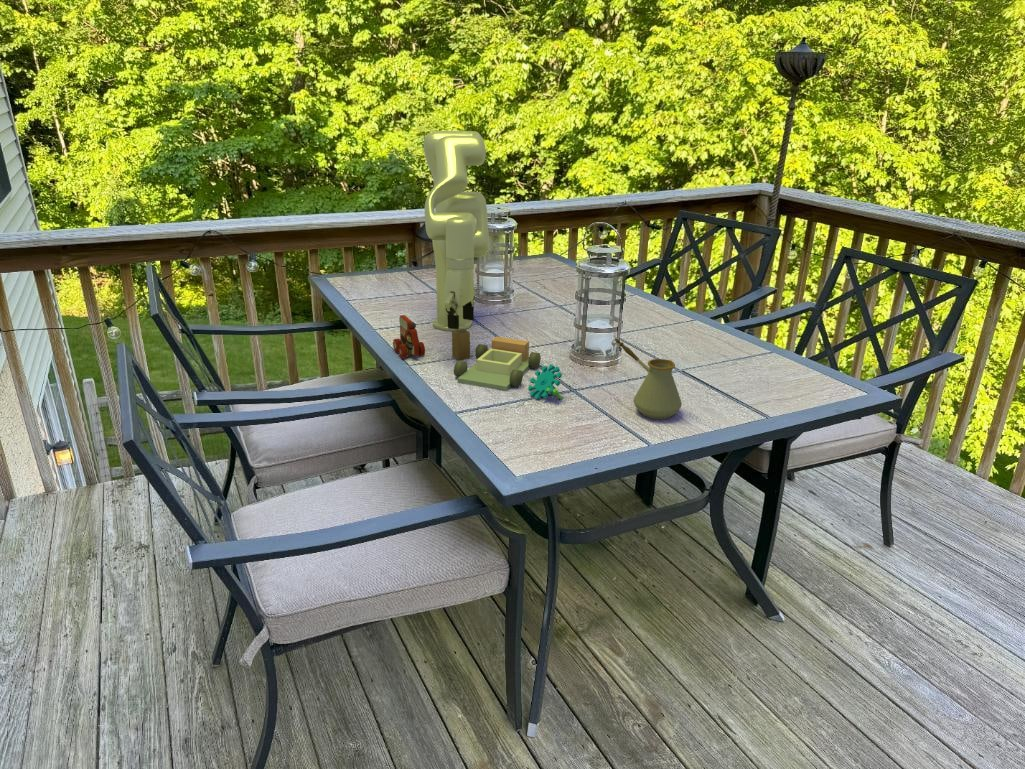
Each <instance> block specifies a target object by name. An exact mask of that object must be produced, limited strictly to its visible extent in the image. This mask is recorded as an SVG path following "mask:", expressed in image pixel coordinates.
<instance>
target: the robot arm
mask: <svg viewBox="0 0 1025 769" xmlns="http://www.w3.org/2000/svg"><path fill="white" fill-rule="evenodd" d="M486 149H487V148H486V144H485V142H484V139H483V137H482V135H481V134H480V133H479V132H478V131H475V130H473V131H472V130H438V131H432V132H429V133H427V134H425V136H424V137H423V152H424V157H425V160H426V163H427V166H428V169H429V171H430V173H431V178H432V181H433V188H431V190H430V191H429V192H428V194H427V197H426V199H425V202H424V224H425V232H426V234H427V236H428V238H429V239H430V240H431V241H432V250H433V254H434V262H435V279H436V280H435V281H436V284H435V285H436V311H437V312H436V318H434V319H433V320H432V326H433V327H434V328H435V329H437V330H440V331H448V332H452V331H453V330H458V329H465V330H468V328H470V327H471V326H472V324H473V322H472V321H473V320H475V317H474V316H475V308H474V307H475V298H476V295H475V294H476V287H475V279H474V270H475V264H474V262H475V259H474V258H483V257H485V256H487V254H488V253H489V250H490V237H489V236H490V234H489V232H490V231H489V221H488V209H487V201H486V198H485V196H484V194H482V193H481V192H479V191H465V190H466V188H467V187H468V183H469V181H468V173H467V172H468V171H467V166H469V167H470V166H482V165H483V164H484V163H485V160H486V156H487V155H486V154H487V153H486V152H487V150H486Z"/></svg>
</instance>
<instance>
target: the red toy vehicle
mask: <svg viewBox="0 0 1025 769" xmlns="http://www.w3.org/2000/svg"><path fill="white" fill-rule="evenodd" d="M398 318H399V320H398V321H399V337H400V338H394V339H393V341H392V347H393V350H394V352H395V353H396V354H398V355H399V357H401V358H400V359H402V358H404V359H407V358H408V356H409V355H412V356H414V357H418V356H419V357H422V356H425V354H426V347H425V344H424V342H422V341H420V340H419V336H418V335H419V334H418V330H417V324H416V323H415V322H414V321H412V319H410V318H409V317H407V316H406V314H401V315H399V317H398Z"/></svg>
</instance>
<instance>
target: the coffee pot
mask: <svg viewBox="0 0 1025 769" xmlns="http://www.w3.org/2000/svg"><path fill="white" fill-rule="evenodd" d="M614 341H615V343H614ZM616 344H618V345H619V348H622V349H623V351H624V352H625V353H626V354H627V355H628V356H630V357H631V358H632V359H634V361H636V362H638V364H639V365H640V366H641V367H642V368H644V370H645V371H646V372H647V374H646V377H645V378H644V380H643V382H642V383H641V385H640V387H639V388H638V390H637V391H636V394H635V395H634V398H633V404H634V406H635V408H636V409H637V410H638V411H639V412H640V413H641V415H643V416H644V417H647V418H649V419H653V420H665V419H670V418H671V417H672V416H674V415H675V414H677V413H678V412H679V411H680V409H681V407H682V403H683V402H682V400H681V396H680V393H679V391H678V388H677V386H676V384H677V383H676V382H675V378H674V376H673V369H675V367H676V364H675V361H673V360H671V359H666V358H665V359H664V358H653V359H650V360H649V361H647V364H645V363H644V362H643V361H642V360H641V359H640V358H639V357H638V356H637V355H636V354H635V353H634V351H632V349H630V348H629V347H627V346H626V345H625V344H624V342H623V341H620V339H618V338H617V337H616V338H614V339H613V340H612V341H611V345H612V346H615V345H616Z"/></svg>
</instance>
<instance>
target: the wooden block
mask: <svg viewBox="0 0 1025 769" xmlns="http://www.w3.org/2000/svg"><path fill="white" fill-rule="evenodd" d="M451 353H452V354H451V356H452V357H453V358H455V359H456V360H457V361H458V360H460V361H464V360H466V359H470V358H471V333H470V331H468V329H458V330H453V331H451Z"/></svg>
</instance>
